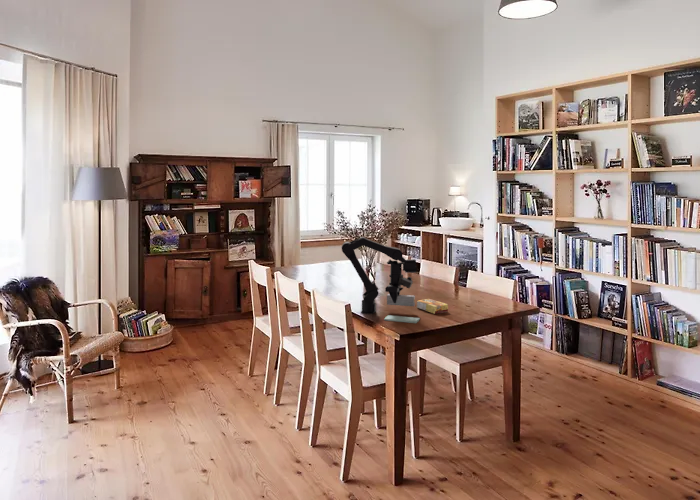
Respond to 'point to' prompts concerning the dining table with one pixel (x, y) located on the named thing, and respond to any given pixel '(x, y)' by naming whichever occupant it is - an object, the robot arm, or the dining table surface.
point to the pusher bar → (402, 300)
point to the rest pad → (402, 319)
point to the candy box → (432, 306)
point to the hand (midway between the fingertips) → (395, 302)
